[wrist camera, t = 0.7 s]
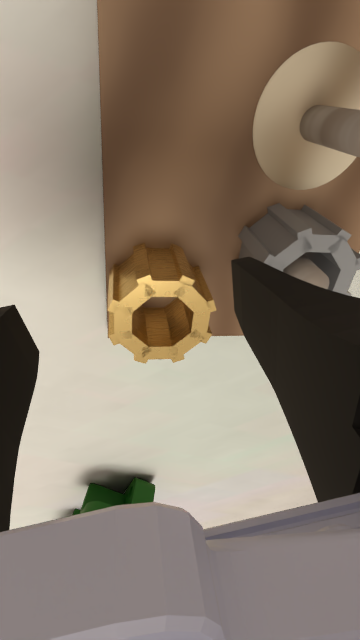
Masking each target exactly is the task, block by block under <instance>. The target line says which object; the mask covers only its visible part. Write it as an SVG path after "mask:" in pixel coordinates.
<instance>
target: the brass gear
mask: <svg viewBox="0 0 360 640" xmlns="http://www.w3.org/2000/svg"><path fill="white" fill-rule="evenodd" d="M133 251H134V253H133V254H132V255H131V256H130V257H129V258H128V259H126V260H125V261H124V262H123V263H122V264H121V265H120V266H118V265H115V264H113V266H112V269H111V271H110V273H109V289H108V311H109V332H108V336H109V338H110V340H111V341H112V343H113V345H116V344H119V343H120V344H121V345H123V346H124V347H125V348H127V349H128V350H129V351H131V352H132V353H133V354H134V360H135V361H138V362H142V363H145V364H146V362H147V360H148V359H172V362H173V363H174V362H177V361H180V360H183V359H184V355H183V354H185V353H186V352H187V351H189V350H190V349H192V348H193V347H194V346H196V345H197V344H198V343H200V342H203V343H207V341H208V340H209V338H210V337H211V335H212V332H211V330H210V327H209V318H210V312H213V311H216V307H215V303H214V300H213V298H212V295H211V293H210V291H209V288H208V286H207V284H206V282H205V279H204V277H203V275H202V272H201V270H200V268H199V266H196V267H192V266H191V264H190V263H189V262H188V261H187V259H186V256H185V253H184V251H183V248H181V247H179V246H177V245H175V244H171V246H170V248H147V247H146V245H145V242H144V243H142V244H139V245H136V246H133ZM151 297H177V298H176V299H175V300H173V301H172V302H171V303H170V304H168V305H167V306H166V307H165V308H144V307H143V306H142V304H143V303H144V302H146V301H147V300H148V299H149V298H151Z"/></svg>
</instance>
